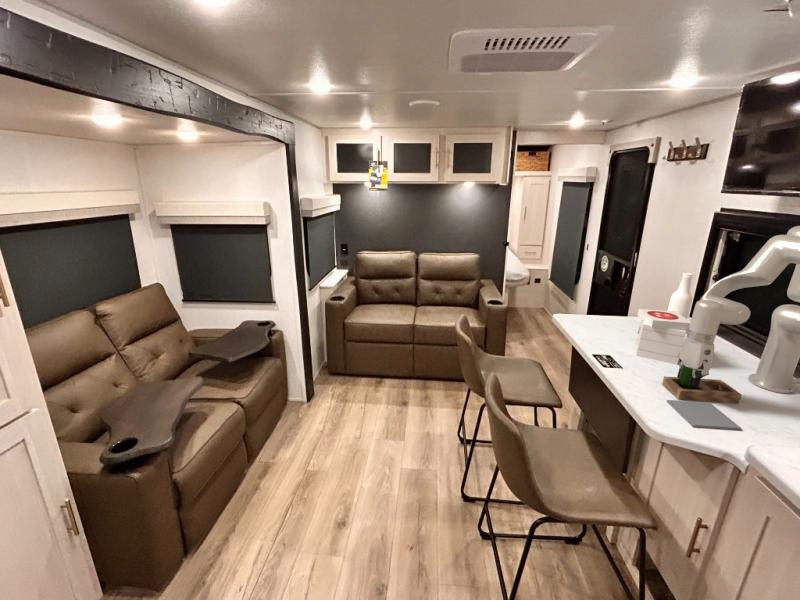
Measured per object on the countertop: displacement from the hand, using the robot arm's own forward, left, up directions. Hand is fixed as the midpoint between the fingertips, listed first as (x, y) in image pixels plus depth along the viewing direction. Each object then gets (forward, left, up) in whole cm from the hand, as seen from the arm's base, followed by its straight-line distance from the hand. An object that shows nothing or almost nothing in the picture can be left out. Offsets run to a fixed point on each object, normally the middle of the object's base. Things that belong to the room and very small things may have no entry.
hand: (687, 381), depth 135 cm
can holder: (-5, 0, -4) cm, 7 cm away
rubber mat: (+3, +14, -4) cm, 15 cm away
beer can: (0, 0, -5) cm, 5 cm away
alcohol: (-33, -64, -5) cm, 72 cm away
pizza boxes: (-10, -38, -5) cm, 40 cm away
